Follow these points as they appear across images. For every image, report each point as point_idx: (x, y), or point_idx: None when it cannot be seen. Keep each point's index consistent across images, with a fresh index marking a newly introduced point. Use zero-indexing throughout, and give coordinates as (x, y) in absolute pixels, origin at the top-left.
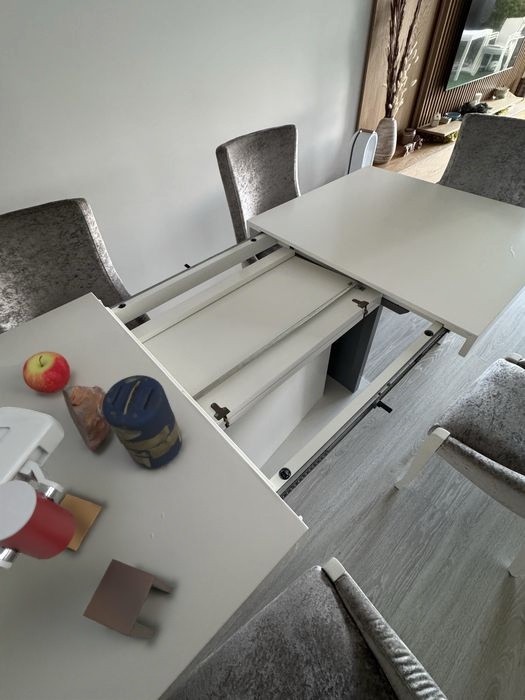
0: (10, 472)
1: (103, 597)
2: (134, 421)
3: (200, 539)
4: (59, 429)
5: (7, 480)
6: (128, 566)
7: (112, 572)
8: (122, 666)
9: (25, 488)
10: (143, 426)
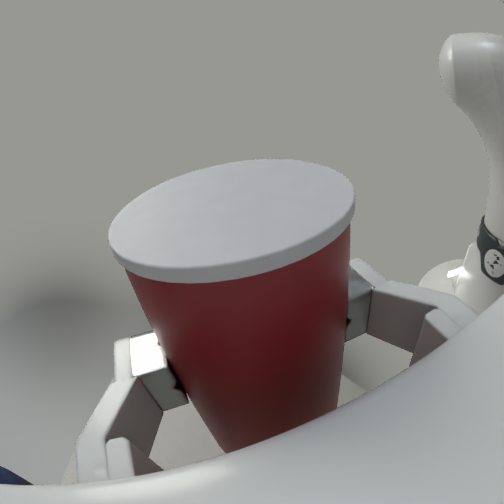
0: (141, 478)
1: None
2: None
3: (187, 431)
4: None
5: (184, 466)
6: None
7: None
8: (341, 399)
9: (130, 213)
10: (26, 483)
